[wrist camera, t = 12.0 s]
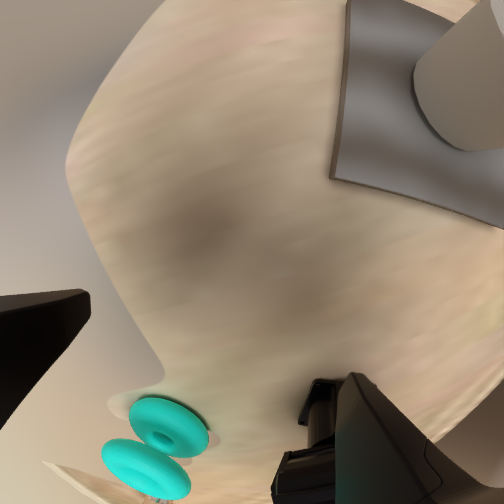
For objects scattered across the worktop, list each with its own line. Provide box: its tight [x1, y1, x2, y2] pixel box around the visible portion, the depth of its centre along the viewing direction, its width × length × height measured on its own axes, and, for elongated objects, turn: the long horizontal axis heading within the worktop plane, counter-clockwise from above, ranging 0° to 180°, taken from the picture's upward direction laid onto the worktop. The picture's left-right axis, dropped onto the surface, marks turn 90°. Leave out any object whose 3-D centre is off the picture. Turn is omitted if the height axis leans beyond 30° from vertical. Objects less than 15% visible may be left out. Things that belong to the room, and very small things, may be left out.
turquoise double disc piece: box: [101, 397, 209, 500], centre depth 23 cm, size 10×10×10 cm
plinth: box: [329, 0, 504, 229], centre depth 14 cm, size 16×16×3 cm
